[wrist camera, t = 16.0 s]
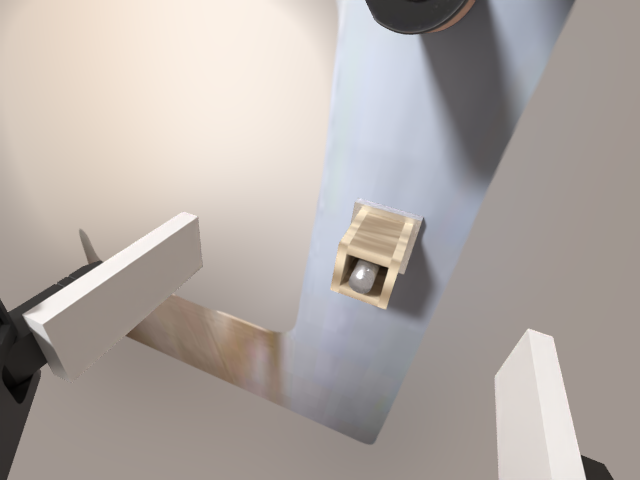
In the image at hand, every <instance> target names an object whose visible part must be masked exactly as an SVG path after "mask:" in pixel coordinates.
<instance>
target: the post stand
mask: <svg viewBox="0 0 640 480" xmlns="http://www.w3.org/2000/svg"><path fill="white" fill-rule="evenodd" d="M360 210H363V211H367V212H370V213H374V214H377V215H380V216H384V217H387V218H391V219H394V220H397V221H401V222H404V223H408V224H411V225H413V227H412V231H411V234H410V237H409V240H408V243H407V246H406V249H405V252H404V255H403V258H402V261H401V264H400V268H399V271H398V273H400V274H403V275H404V273H405V270H406V267H407V264H408V261H409V258H410V255H411V252H412V249H413V246H414V243H415V240H416V238H417V235H418V232H419V229H420V226H421V223H422V220H423V216H420V215H416V214H413V213H409V212H406V211H402V210H399V209H395V208H392V207H388V206H385V205H381V204H378V203H374V202H371V201H367V200H364V199H360V198H357V200H356V201H355V205H354V210H353V215H352V220H351V224H352V222H353V220H354V219H355V217H356V216H357V214H358V213H359V211H360ZM379 268H380V265H379V264H376V263H373V262H370V261H367V260H364V259H361V258H360V259H359V261H358V263H357V265H356V267H355V269H354V271H353V273H352V275H351V277H350V278H349V286H350V288H351V289H352V290H353V291H355V292H357V293H360V294H365V293H368V292H369V291H370V290H371V288H372V285H373V283H374V280H375V278H376V275H377V273H378V270H379Z"/></svg>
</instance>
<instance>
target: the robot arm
mask: <svg viewBox="0 0 640 480" xmlns="http://www.w3.org/2000/svg"><path fill="white" fill-rule="evenodd" d="M202 267H203V265H202V254H201V243H200V232H199V222H198V216H195V215H192V214H189V213H186V212H181V213H180V214H179V215H177V216H175V217H174V218H172V219H171V220H169V221H167V222H166V223H164V224H163V225H161V226H160V227H158V228H157V229H155V230H153V231H152V232H150V233H149V234H147V235H146V236H144V237H143V238H141V239H139V240H138V241H136V242H135V243H133V244H132V245H130V246H129V247H127V248H125V249H124V250H122V251H121V252H119V253H118V254H116V255H114V256H113V257H111V258H110V259H108V260H107V261H105V262H102V261H97V262H94V263H91V264H89V265H86V266H83V267H81V268H80V269H78V270H77V271H75V272H74V273H72V274H70V275H69V277H65V278H64V279H62V280H61V281H59V282H58V283H57V284H56V285H55V284H54V285H52V286H51V287H49V288H47V289H46V290H44V291H43V292H41V293H39V294H38V295H36V296H34V297H33V298H31V299H30V300H28V301H26V302H25V303H23V304H22V305H20V306H18V307H17V308H15V309H13V310H12V311H10V312H7V310H6V308H5V307H4V305H3V303H2V301H1V300H0V480H7V477H8V474H9V471H10V468H11V465H12V462H13V459H14V456H15V453H16V450H17V447H18V444H19V441H20V438H21V435H22V432H23V429H24V425H25V423H26V420H27V417H28V413H29V411H30V407H31V405H32V402H33V399H34V396H35V392H36V389H37V386H38V383H39V380H40V377H41V370H40V368H41V367H42V366H44V365H45V364H46V363H48V365H49V366H50V368H51V370H52V372H53V374H55V375H57V376H59V377H61V378H62V379H64V380H66V381H68V382H70V383H72V382H73V381H74V380H75V379H77V378H78V377H79V376H80V375H81V374H82V373H83V372H85V371H86V370H87V369H88V368H89V367H90V366H91V365H92V364H94V363H95V362H96V361H97V360H98V359H99V358H100V357H101V356H102V355H104V354H105V353H106V352H107V351H108V350H109V349H110V348H112V347H113V346H114V345H115V344H116V343H117V342H118V341H119V340H121V339H122V338H123V337H124V336H125V335H126V334H127V333H129V332H130V331H131V330H132V329H133V328H134V327H135V326H136V325H138V324H139V323H140V322H141V321H142V320H143V319H144V318H145V317H147V316H148V315H149V314H150V313H151V312H152V311H153V310H154V309H156V308H157V307H158V306H159V305H160V304H161V303H162V302H163V301H165V300H166V299H167V298H168V297H169V296H170V295H171V294H173V293H174V292H175V291H176V290H177V289H178V288H179V287H180V286H182V285H183V284H184V283H185V282H186V281H187V280H188V279H189V278H191V277H192V276H193V275H194V274H195V273H196V272H197V271H198V270H200V269H201V268H202ZM495 398H496V399H495V400H496V424H497V447H498V467H499V468H498V470H499V480H613V478H612V476H611V475H610V473H609V472H608V470H607V468H606V467H605V465H604V464H602V463H600V462H597V461H595V460H592V459H590V458H587V457H585V456H582V455H580V451H579V447H578V443H577V439H576V434H575V430H574V426H573V421H572V417H571V413H570V408H569V404H568V400H567V396H566V391H565V387H564V383H563V379H562V375H561V370H560V366H559V361H558V357H557V353H556V349H555V345H554V341H553V337H552V336H549V335H546V334H543V333H540V332H537V331H534V330H531V329H527V331H526V332H525V334H524V335H523V337H522V338H521V339H520V341H519V342H518V344H517V345H516V347H515V348H514V349H513V351H512V352H511V354H510V355H509V357H508V358H507V360H506V361H505V362H504V364H503V365H502V367H501V368H500V370H499V371H498V373H497V374H496V376H495Z"/></svg>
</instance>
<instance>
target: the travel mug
mask: <svg viewBox="0 0 640 480" xmlns="http://www.w3.org/2000/svg"><path fill="white" fill-rule="evenodd" d="M365 1H366V3H367V5H368V7H369V9H370V11H371V13H372V15H373V18H374V20H375V21H376V22H377V23H379V24H380V25H381V26H383V27H385V28H387V29H389V30H391V31H394V32H396V33H400V34H409V35H413V34H422V33H430V32H437V31H441V30H444V29H446V28H448V27H450V26H452V25H454V24H455V23H457V22H458V21H459V20H460V19H462V18H463V17H464V16H465V15H466V14H467V13H468V11H469V10H470V9H471V7H472V6H473V4H474V3H475V1H476V0H365Z"/></svg>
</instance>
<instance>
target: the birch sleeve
mask: <svg viewBox="0 0 640 480" xmlns="http://www.w3.org/2000/svg"><path fill="white" fill-rule="evenodd" d="M412 227H413V225H411V224H408V223H404V222H401V221H397V220H394V219H391V218H387V217H384V216H380V215H377V214H374V213H370V212H367V211H363V210H360V211H359V213H358V214H357V216H356V217H355V219H354V220H353V222H352V224H351V225H350V227H349V228H348V230H347V232H346V233H345V235H344V236H343V238H342V239H341V241H340V243H339V246H338V251H337V257H336V262H335V267H334V273H333V278H332V283H331V289H330V290H333V291H336V292H338V293H341V294H344V295H347V296H349V297H352V298H355V299H358V300H361V301H363V302H366V303H369V304H372V305H374V306H377V307H380V308H383V309H386V307H387V304H388V301H389V298H390V295H391V292H392V289H393V286H394V283H395V280H396V277H397V274H398V271H399V268H400V264H401V261H402V258H403V255H404V252H405V249H406V246H407V243H408V240H409V237H410V234H411V231H412ZM360 258H361V259H364V260H367V261H370V262H373V263H376V264H379V265H380V268H379V270H378V273H377V275H376V278H375V280H374V283H373V285H372V288H371V290H370V291H369V292H368V293H365V294H360V293H357V292H355V291H353V290H352V289H351V288H350V286H349V278H350V277H351V275H352V273H353V271H354V269H355V267H356V265H357V263H358V261H359V259H360Z"/></svg>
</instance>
